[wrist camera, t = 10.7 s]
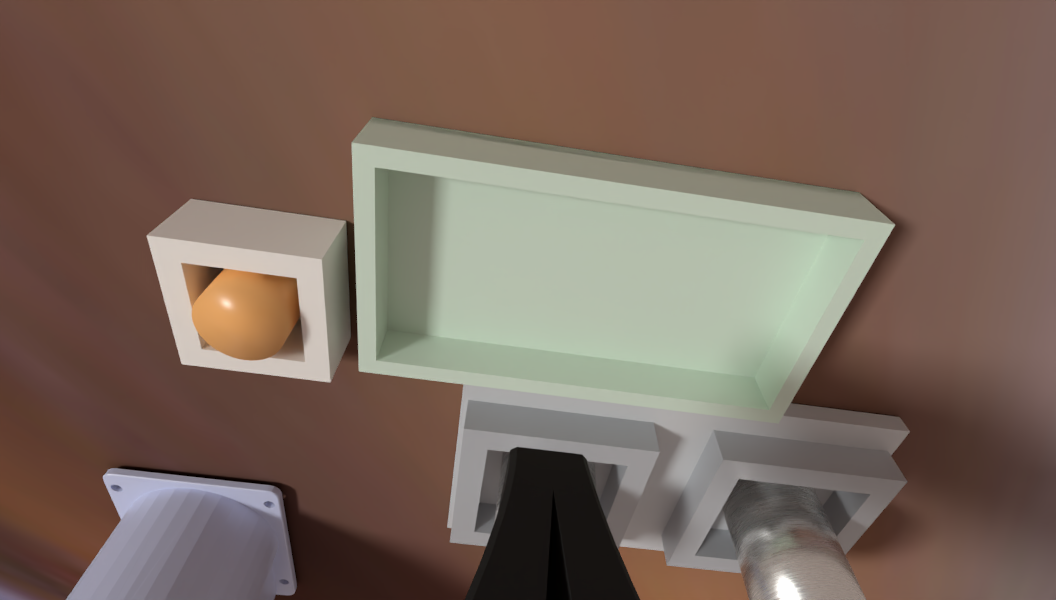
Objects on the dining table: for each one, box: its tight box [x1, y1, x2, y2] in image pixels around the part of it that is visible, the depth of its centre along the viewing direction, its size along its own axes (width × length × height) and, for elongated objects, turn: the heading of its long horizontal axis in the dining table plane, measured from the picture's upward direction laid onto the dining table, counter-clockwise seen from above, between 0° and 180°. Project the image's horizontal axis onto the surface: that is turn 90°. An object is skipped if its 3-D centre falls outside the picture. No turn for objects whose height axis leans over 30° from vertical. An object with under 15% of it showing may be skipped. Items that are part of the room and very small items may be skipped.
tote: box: [352, 117, 895, 424], centre depth 19 cm, size 8×15×2 cm, turn 81°
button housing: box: [147, 199, 351, 382], centre depth 19 cm, size 5×5×2 cm
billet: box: [722, 479, 866, 600], centre depth 23 cm, size 4×4×6 cm
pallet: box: [447, 384, 910, 573], centre depth 25 cm, size 10×18×2 cm, turn 82°
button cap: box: [192, 269, 300, 361], centre depth 19 cm, size 3×3×3 cm
